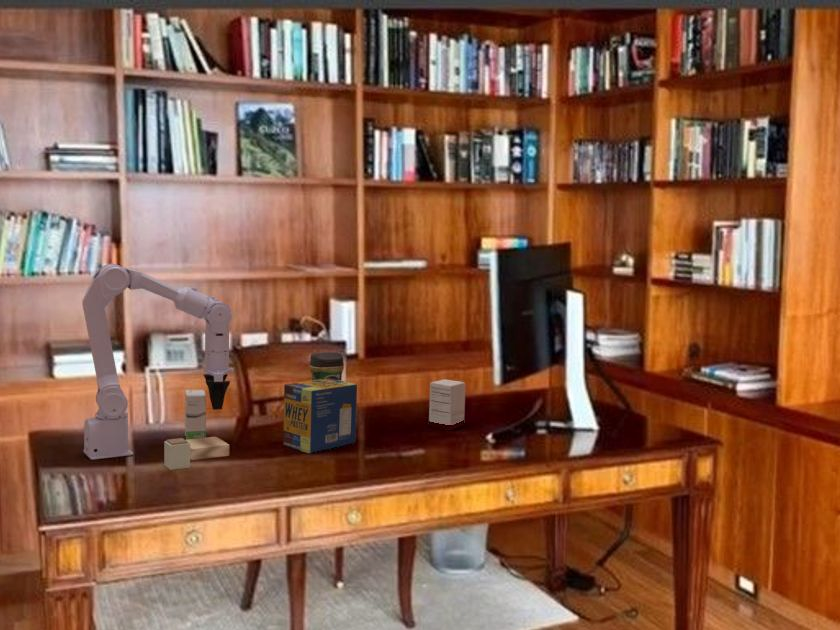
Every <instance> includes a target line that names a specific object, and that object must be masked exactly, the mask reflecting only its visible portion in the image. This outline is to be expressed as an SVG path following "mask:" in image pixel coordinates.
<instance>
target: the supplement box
mask: <svg viewBox="0 0 840 630" xmlns="http://www.w3.org/2000/svg"><path fill="white" fill-rule="evenodd" d="M465 404H466V382H464V381H458V380H451V379H446V378H444V379H443V378H442V379H440V380H436V381H432V382H429V409H428V410H429V411H428V412H429V413H428V422H429V421H430V422H434V423H439V424H445V425H454V424H456V423H459V422H461V421H463V420H464V421H465V413H466V412H465V411H466V410H465V409H466V408H465Z"/></svg>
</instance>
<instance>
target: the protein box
mask: <svg viewBox="0 0 840 630" xmlns="http://www.w3.org/2000/svg"><path fill="white" fill-rule="evenodd" d="M283 387H284V389H283V391H284V393H283V446H285V447H287V448H291V449H293V450H297V451H300V452H303V453H307V454H309V453H310V454H314V453H313V452H315V453H318V452H317V451H320V452H322V451H321V450H325V449H329V450H332V449H331V448H334V447H338V448H340V447H339V446H343V445H346V444H350V443H353V442H355V443H356V439H357V436H356V435H357V433H356V432H357V405H358V404H357V401H358V400H357V398H358V395H357V394H358V384H357V383H353V382H349V381H345V380H344V381H343V380H342V379H341V380H337V379H332V378H326V379H320V380H313V381H312V380H308V381H307V380H306V381H299V382H294V383H286V384H284V385H283ZM343 447H344V446H343ZM334 449H335V448H334ZM325 451H326V450H325Z"/></svg>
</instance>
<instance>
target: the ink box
mask: <svg viewBox="0 0 840 630" xmlns="http://www.w3.org/2000/svg"><path fill="white" fill-rule="evenodd" d="M184 392H185V393H184V394H185V396H184V397H185V399H184V400H185V401H184V402H185V403H184V405H185V406H184V436H186V437H185V440H188V439H197V438H206V437H207V395H206V391H205V390H204V389H185V391H184Z"/></svg>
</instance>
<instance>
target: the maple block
mask: <svg viewBox="0 0 840 630" xmlns="http://www.w3.org/2000/svg"><path fill="white" fill-rule="evenodd" d="M185 440H186V439H185ZM186 441H188V442H189V443H190V461H196V460H203V459H210V458H219V457H220V458H221V457H228V456H230V444H229V443H227V442H225V441H224V440H223V439H221V438H219V437H217V436H209V437H207V436H206V438H197V439H188V440H186Z"/></svg>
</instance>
